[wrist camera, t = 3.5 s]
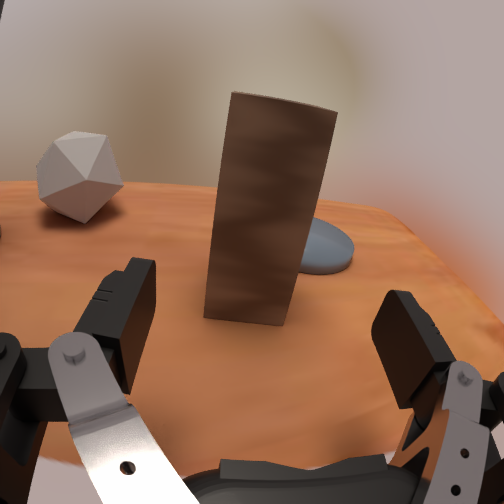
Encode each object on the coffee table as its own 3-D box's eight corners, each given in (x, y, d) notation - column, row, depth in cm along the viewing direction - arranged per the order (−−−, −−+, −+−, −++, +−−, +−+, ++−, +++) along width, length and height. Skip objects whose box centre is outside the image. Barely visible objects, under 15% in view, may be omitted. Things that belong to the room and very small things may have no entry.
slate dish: (272, 278, 24) (275, 265, 24) (235, 221, 32) (236, 210, 32) (370, 270, 28) (374, 259, 28) (318, 222, 36) (321, 213, 36)
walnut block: (203, 317, 19) (231, 92, 13) (210, 273, 24) (234, 91, 17) (282, 326, 20) (337, 112, 14) (276, 281, 24) (315, 105, 18)
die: (139, 216, 32) (124, 131, 32) (103, 204, 23) (91, 97, 23) (72, 238, 32) (61, 156, 32) (25, 233, 23) (18, 133, 23)
